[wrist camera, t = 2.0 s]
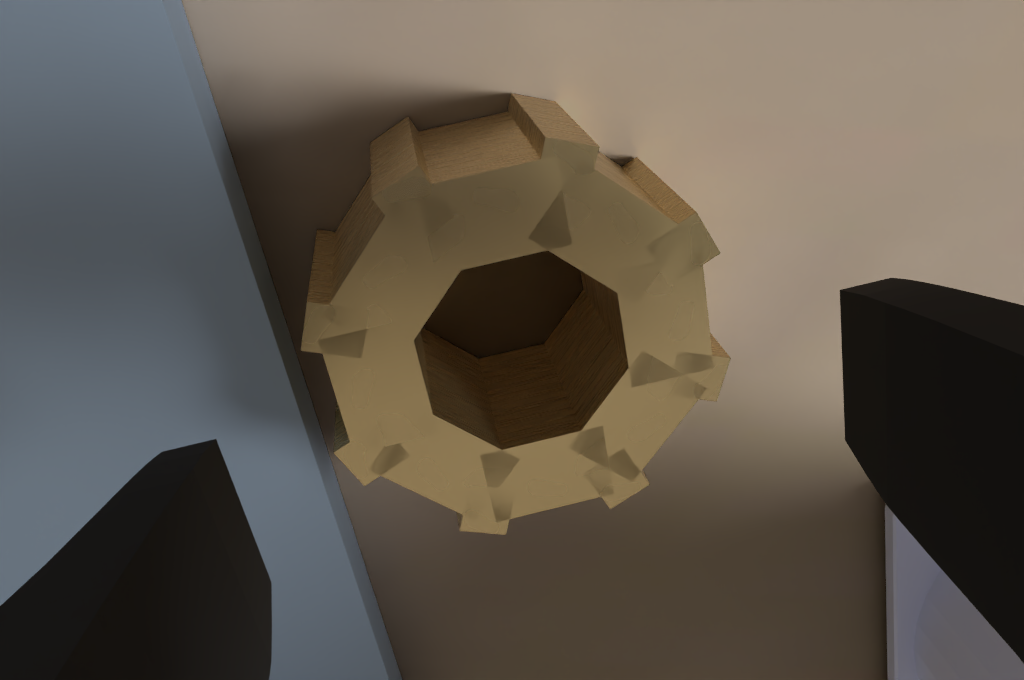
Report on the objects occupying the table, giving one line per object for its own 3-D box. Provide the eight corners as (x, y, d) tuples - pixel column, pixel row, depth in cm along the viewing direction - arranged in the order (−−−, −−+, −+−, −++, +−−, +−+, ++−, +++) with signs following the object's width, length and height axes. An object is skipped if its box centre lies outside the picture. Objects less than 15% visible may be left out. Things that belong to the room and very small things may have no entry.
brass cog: (642, 64, 14) (705, 101, 12) (681, 385, 17) (742, 476, 14) (274, 146, 14) (252, 202, 11) (369, 460, 17) (370, 567, 14)
